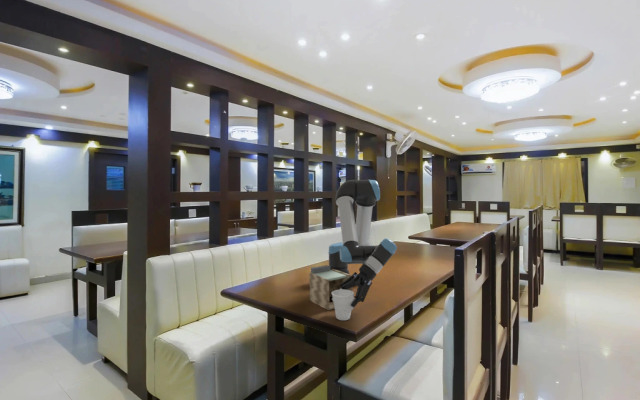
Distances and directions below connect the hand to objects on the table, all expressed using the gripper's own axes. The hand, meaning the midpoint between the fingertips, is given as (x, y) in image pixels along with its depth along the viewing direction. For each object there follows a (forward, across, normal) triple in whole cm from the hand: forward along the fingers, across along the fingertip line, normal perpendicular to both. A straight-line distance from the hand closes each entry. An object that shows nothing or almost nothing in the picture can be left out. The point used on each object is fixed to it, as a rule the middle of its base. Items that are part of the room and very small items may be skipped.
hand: (339, 306), depth 136 cm
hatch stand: (+1, +20, -6) cm, 21 cm away
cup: (+3, 0, -5) cm, 6 cm away
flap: (-7, +23, +3) cm, 24 cm away
